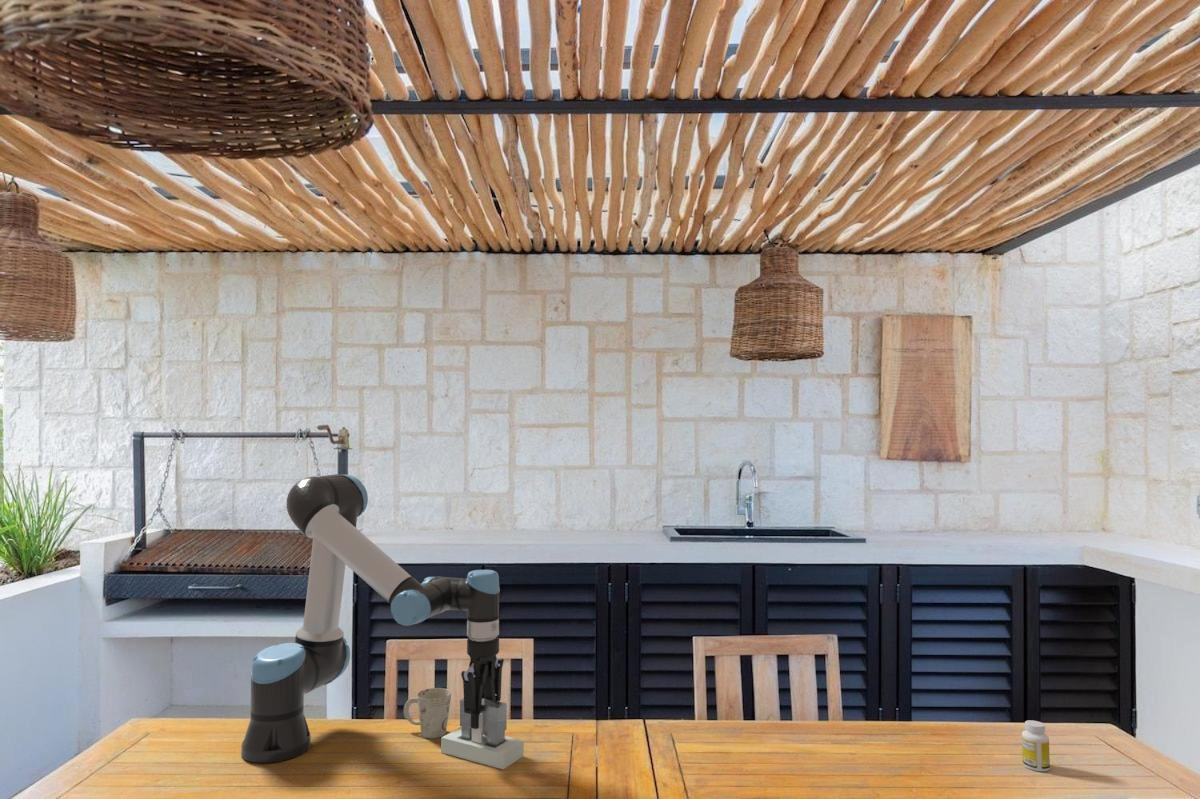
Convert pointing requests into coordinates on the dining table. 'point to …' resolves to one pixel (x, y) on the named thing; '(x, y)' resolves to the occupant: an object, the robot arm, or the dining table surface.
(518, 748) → the block
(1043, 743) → the supplement bottle
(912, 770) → the dining table surface
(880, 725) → the dining table surface
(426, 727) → the mug
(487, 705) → the clip
